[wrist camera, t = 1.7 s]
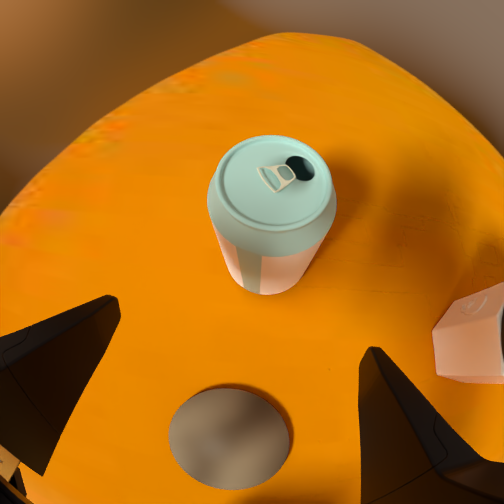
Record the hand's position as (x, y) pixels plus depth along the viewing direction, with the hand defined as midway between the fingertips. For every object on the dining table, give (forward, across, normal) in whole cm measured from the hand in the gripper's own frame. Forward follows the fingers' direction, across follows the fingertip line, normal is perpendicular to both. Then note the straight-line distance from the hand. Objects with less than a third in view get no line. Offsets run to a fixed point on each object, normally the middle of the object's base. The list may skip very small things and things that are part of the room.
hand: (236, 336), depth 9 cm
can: (+15, 0, +4) cm, 16 cm away
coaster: (+3, 0, +16) cm, 16 cm away
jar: (+11, -22, +8) cm, 26 cm away
